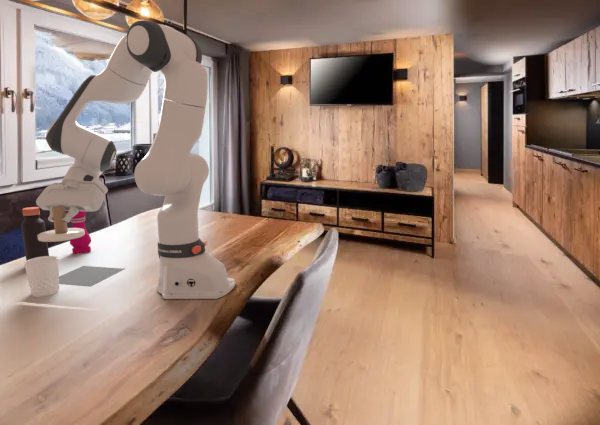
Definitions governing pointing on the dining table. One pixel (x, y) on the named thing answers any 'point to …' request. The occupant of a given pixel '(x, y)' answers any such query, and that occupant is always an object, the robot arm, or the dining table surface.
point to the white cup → (43, 275)
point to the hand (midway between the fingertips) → (58, 221)
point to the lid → (60, 228)
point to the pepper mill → (82, 242)
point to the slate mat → (87, 275)
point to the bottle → (33, 233)
